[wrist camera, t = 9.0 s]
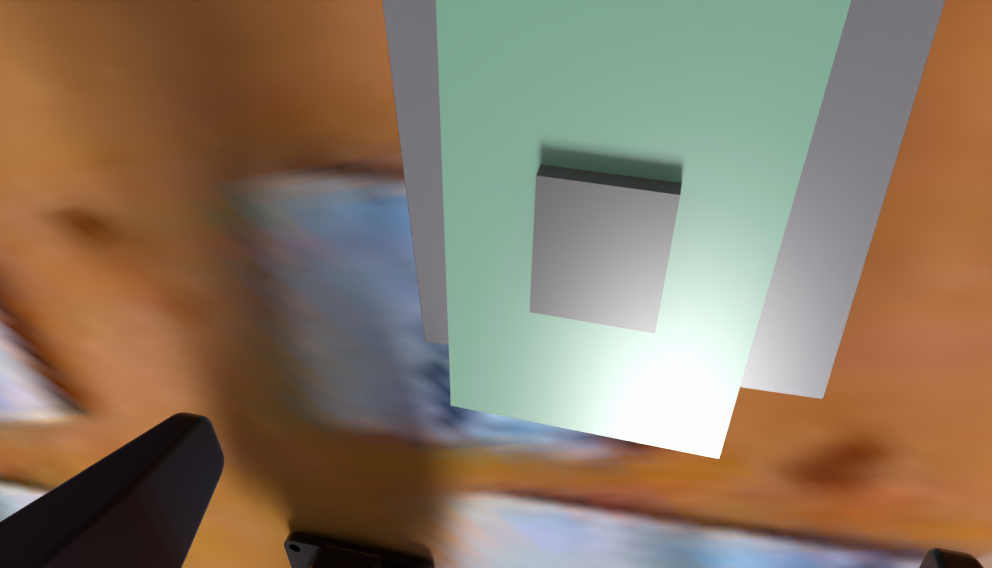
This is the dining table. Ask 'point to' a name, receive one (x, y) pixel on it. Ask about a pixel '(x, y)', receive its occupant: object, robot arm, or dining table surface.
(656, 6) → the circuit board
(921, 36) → the chassis
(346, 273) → the dining table surface
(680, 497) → the dining table surface
